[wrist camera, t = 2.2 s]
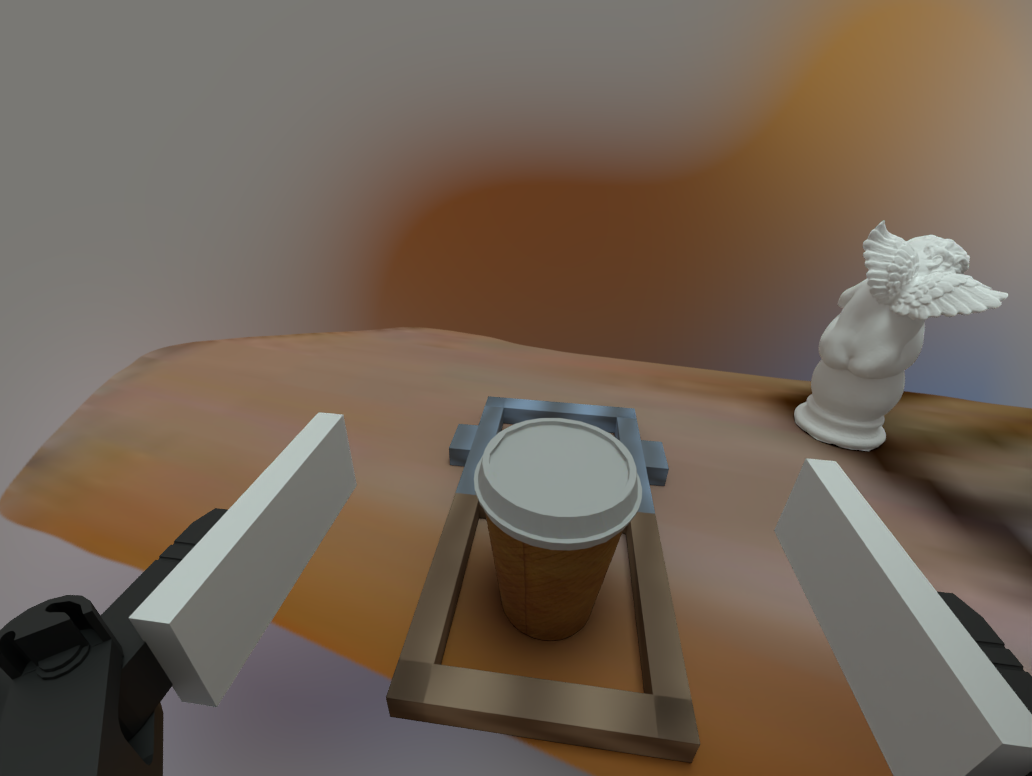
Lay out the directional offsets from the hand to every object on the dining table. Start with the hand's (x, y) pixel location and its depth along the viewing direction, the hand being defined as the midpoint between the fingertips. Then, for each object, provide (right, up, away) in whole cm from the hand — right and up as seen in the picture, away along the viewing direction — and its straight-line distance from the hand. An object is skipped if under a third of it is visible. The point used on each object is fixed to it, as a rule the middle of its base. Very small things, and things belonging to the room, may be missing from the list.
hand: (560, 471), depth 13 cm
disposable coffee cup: (+1, -12, +18) cm, 22 cm away
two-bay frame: (+2, -9, +24) cm, 26 cm away
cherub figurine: (+34, -3, +35) cm, 50 cm away
